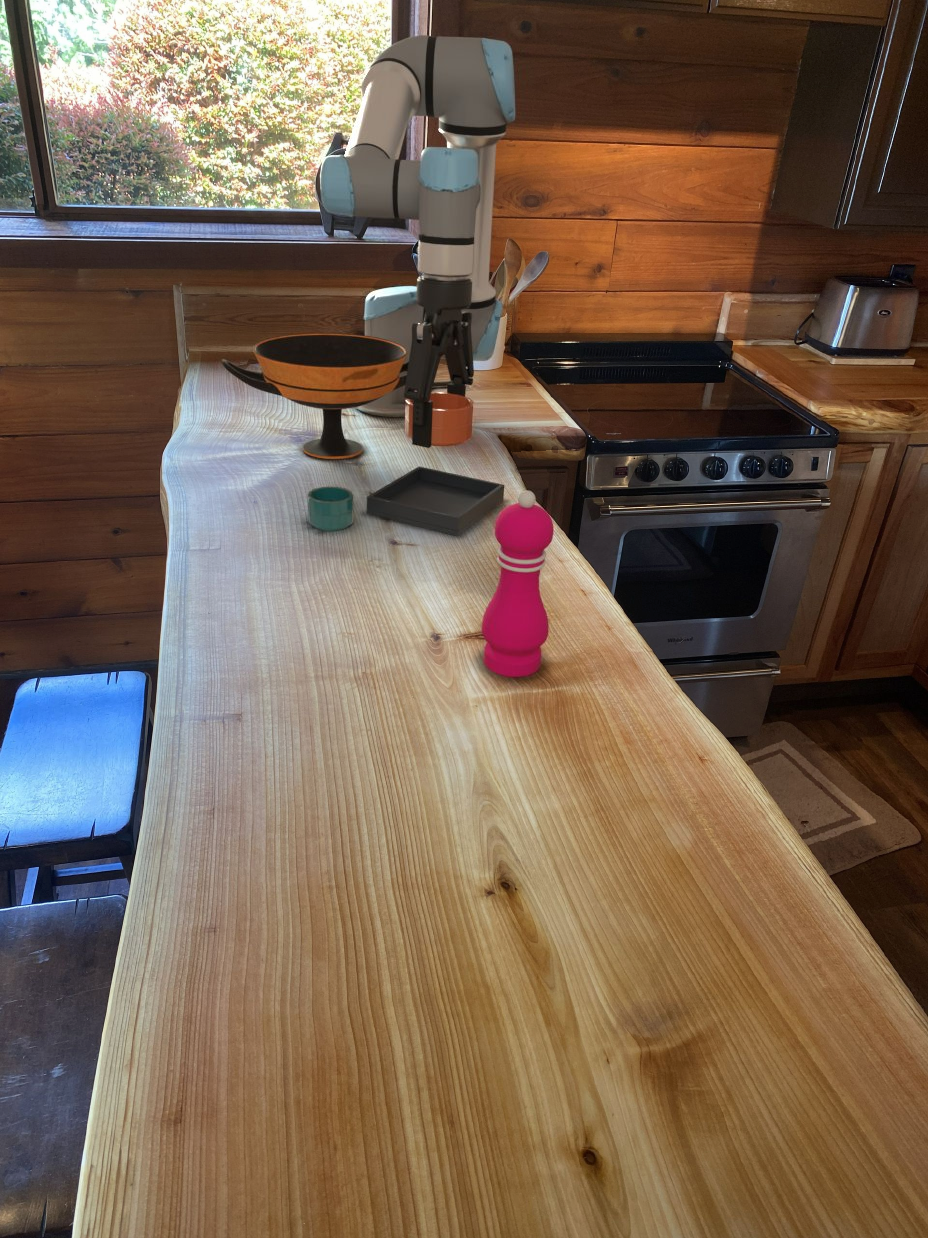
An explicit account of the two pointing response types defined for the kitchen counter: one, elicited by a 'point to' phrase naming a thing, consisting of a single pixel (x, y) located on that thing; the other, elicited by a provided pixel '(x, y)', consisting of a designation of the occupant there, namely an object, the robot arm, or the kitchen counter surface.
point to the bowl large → (446, 418)
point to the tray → (436, 500)
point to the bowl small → (330, 508)
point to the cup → (327, 378)
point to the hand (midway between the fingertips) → (438, 436)
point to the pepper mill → (518, 590)
